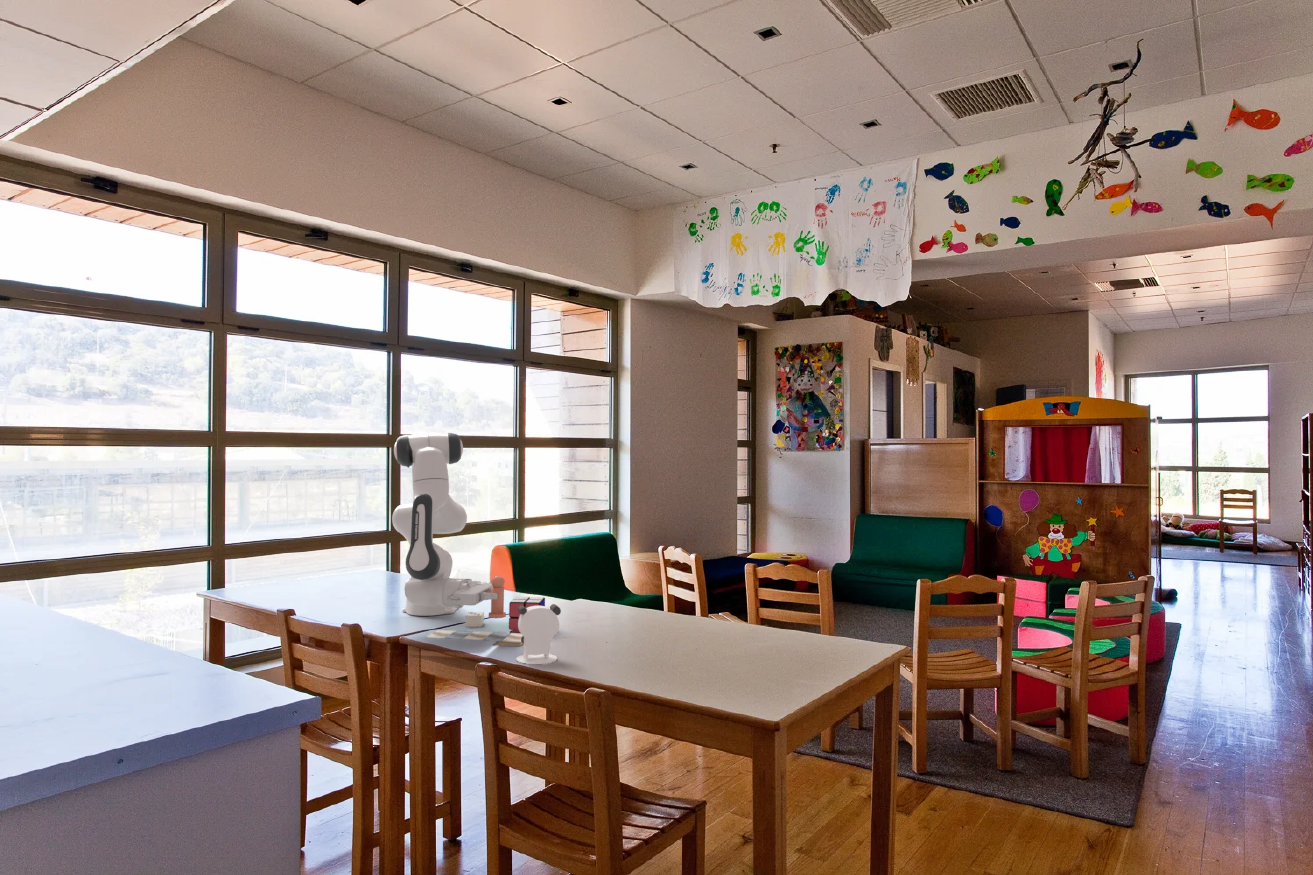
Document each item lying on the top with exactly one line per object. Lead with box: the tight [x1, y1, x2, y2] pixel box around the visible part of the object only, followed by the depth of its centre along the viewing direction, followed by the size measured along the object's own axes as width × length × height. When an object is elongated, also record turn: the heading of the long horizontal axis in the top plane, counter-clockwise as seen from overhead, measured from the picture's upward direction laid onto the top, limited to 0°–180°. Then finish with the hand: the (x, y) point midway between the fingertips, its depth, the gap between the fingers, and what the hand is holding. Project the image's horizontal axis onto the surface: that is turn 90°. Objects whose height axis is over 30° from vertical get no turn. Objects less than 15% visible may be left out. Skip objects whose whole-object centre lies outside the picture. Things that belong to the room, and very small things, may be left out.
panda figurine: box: [515, 603, 562, 665], centre depth 227 cm, size 12×11×15 cm
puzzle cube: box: [508, 596, 546, 633], centre depth 263 cm, size 10×10×10 cm
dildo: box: [488, 575, 507, 619], centre depth 247 cm, size 5×5×12 cm
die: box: [465, 611, 485, 628], centre depth 263 cm, size 5×5×5 cm
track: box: [425, 629, 524, 647], centre depth 248 cm, size 11×30×1 cm, turn 83°
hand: (500, 594), depth 247 cm, fingers closed on dildo, 4 cm apart
